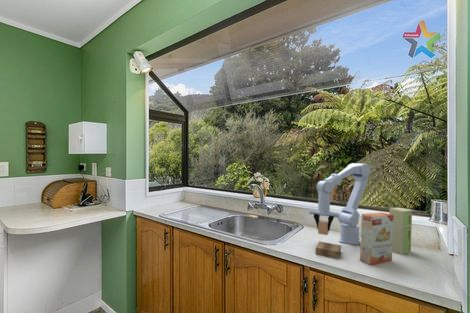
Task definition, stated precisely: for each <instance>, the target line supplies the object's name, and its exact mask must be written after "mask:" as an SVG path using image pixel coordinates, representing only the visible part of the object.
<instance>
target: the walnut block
mask: <svg viewBox="0 0 470 313" xmlns="http://www.w3.org/2000/svg"><path fill="white" fill-rule="evenodd" d="M341 248H342V247H341V244H336V243H330V242H324V241H320V240H319V241H318V243H317V244H316V246H315V255H319V256H324V257H328V258H333V259H339V258H340V255H341Z"/></svg>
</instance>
